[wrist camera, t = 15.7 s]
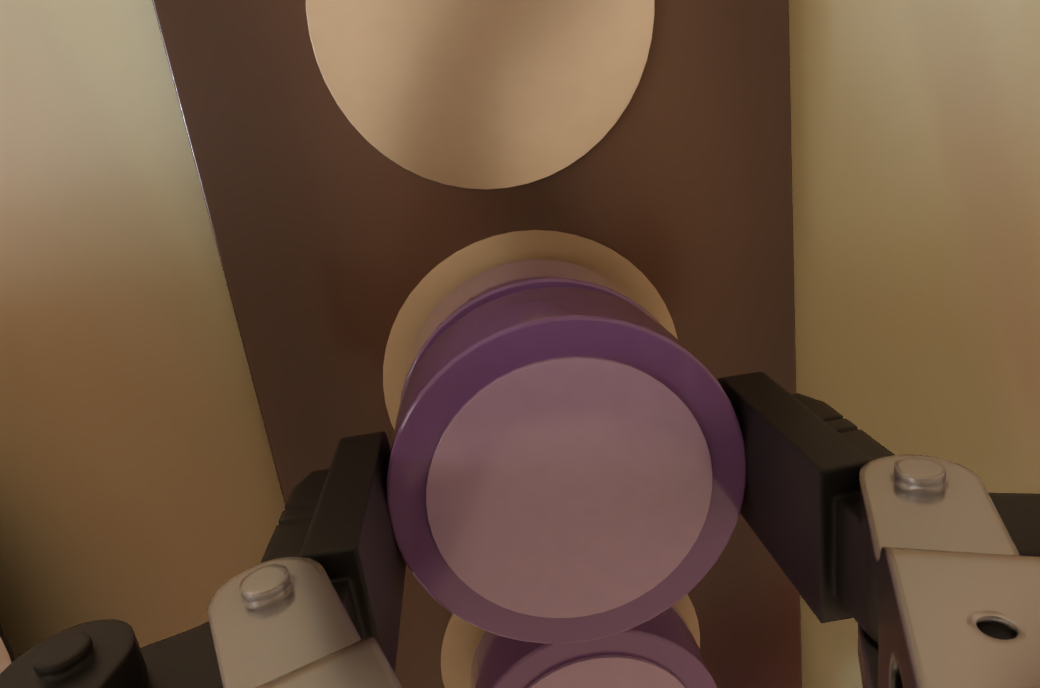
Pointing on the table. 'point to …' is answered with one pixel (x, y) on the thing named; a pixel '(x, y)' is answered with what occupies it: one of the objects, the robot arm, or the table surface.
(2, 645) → the white black spotted canister
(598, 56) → the brown board with circles
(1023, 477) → the table surface
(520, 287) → the dish bottom
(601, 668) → the dish top
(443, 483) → the purple stepped cylinder
